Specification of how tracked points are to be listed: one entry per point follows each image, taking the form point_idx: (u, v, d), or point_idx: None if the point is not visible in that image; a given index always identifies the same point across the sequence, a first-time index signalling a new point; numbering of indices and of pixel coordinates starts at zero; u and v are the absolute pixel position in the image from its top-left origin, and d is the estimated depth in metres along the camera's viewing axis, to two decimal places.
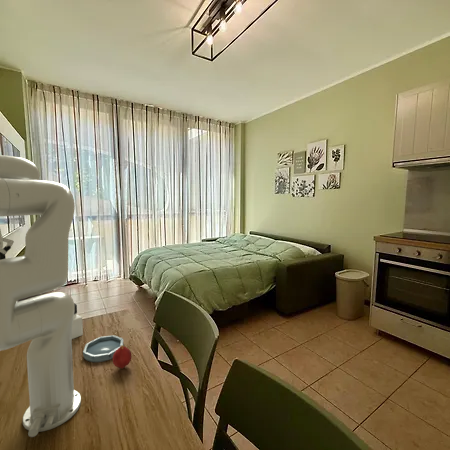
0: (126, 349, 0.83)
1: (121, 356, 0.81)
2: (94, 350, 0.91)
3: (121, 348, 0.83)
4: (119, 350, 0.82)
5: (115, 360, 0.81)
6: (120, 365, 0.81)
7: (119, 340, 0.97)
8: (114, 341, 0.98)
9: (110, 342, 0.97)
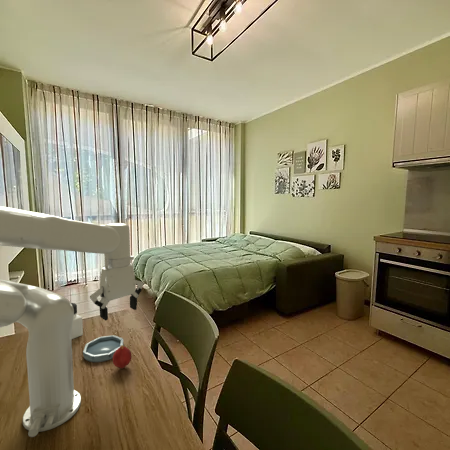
0: (126, 349, 0.83)
1: (121, 356, 0.81)
2: (94, 350, 0.91)
3: (121, 348, 0.83)
4: (119, 350, 0.82)
5: (115, 360, 0.81)
6: (120, 365, 0.81)
7: (119, 340, 0.97)
8: (114, 341, 0.98)
9: (110, 342, 0.97)
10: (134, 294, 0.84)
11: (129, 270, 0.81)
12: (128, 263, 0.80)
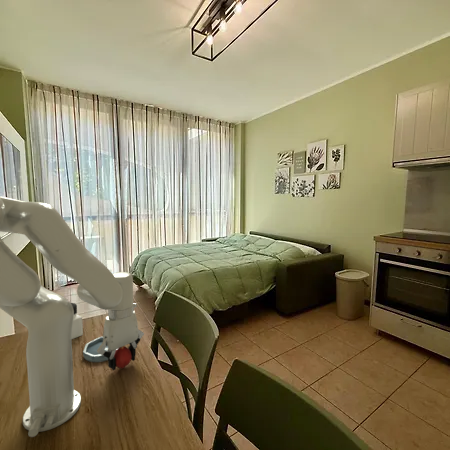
0: (126, 349, 0.83)
1: (121, 356, 0.81)
2: (94, 350, 0.91)
3: (121, 348, 0.83)
4: (119, 350, 0.82)
5: None
6: (120, 365, 0.81)
7: None
8: None
9: None
10: (133, 344, 0.85)
11: (132, 318, 0.83)
12: (131, 312, 0.81)
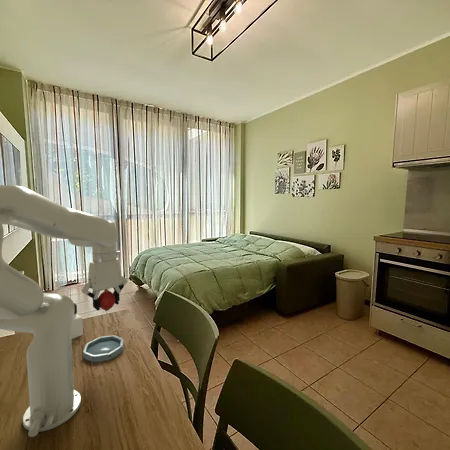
0: (110, 293, 0.90)
1: (104, 298, 0.87)
2: (94, 350, 0.91)
3: (105, 291, 0.89)
4: (103, 293, 0.88)
5: (99, 301, 0.87)
6: (104, 306, 0.87)
7: (119, 340, 0.97)
8: (114, 341, 0.98)
9: (110, 342, 0.97)
10: (117, 289, 0.91)
11: (115, 264, 0.89)
12: (114, 257, 0.87)
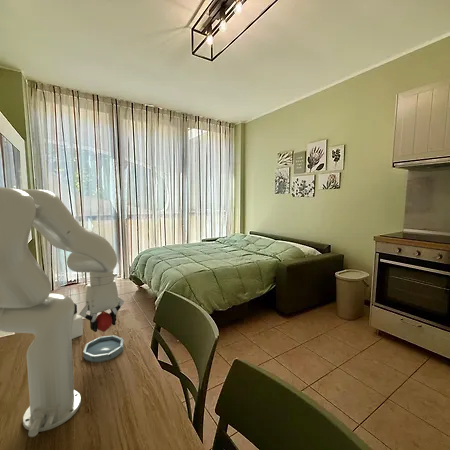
0: (107, 314, 0.92)
1: (102, 320, 0.90)
2: (94, 350, 0.91)
3: (102, 313, 0.91)
4: (100, 315, 0.91)
5: (97, 323, 0.90)
6: (101, 328, 0.90)
7: (119, 340, 0.97)
8: (114, 341, 0.98)
9: (110, 342, 0.97)
10: (114, 310, 0.93)
11: (112, 286, 0.91)
12: (111, 280, 0.90)
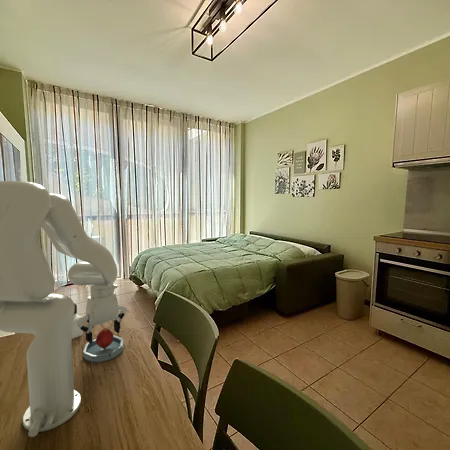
0: (109, 331, 0.92)
1: (103, 337, 0.90)
2: (94, 350, 0.91)
3: (104, 330, 0.92)
4: (102, 332, 0.91)
5: (98, 340, 0.90)
6: (102, 345, 0.90)
7: (119, 340, 0.97)
8: (114, 341, 0.98)
9: None
10: (117, 319, 0.95)
11: (112, 298, 0.92)
12: (111, 292, 0.90)
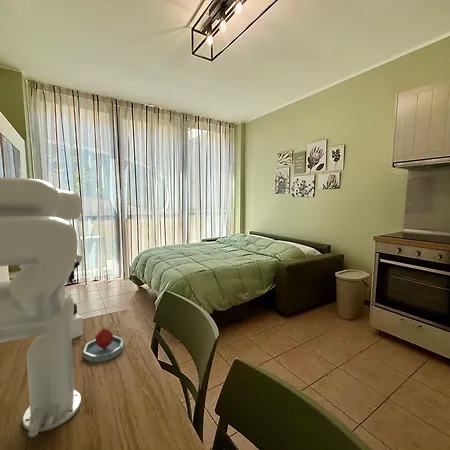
0: (108, 331, 0.93)
1: (102, 337, 0.90)
2: (94, 350, 0.91)
3: (103, 330, 0.92)
4: (101, 331, 0.91)
5: (97, 340, 0.90)
6: (102, 345, 0.90)
7: (119, 340, 0.97)
8: (114, 341, 0.98)
9: None
10: None
11: None
12: None
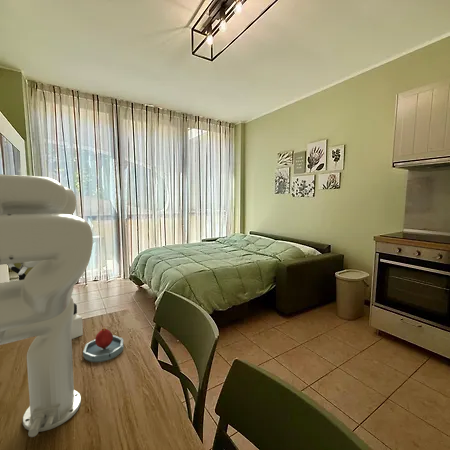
0: (108, 331, 0.92)
1: (102, 337, 0.90)
2: (94, 350, 0.91)
3: (103, 330, 0.92)
4: (101, 332, 0.91)
5: (97, 340, 0.90)
6: (102, 345, 0.90)
7: (119, 340, 0.97)
8: (114, 341, 0.98)
9: None
10: None
11: None
12: None
